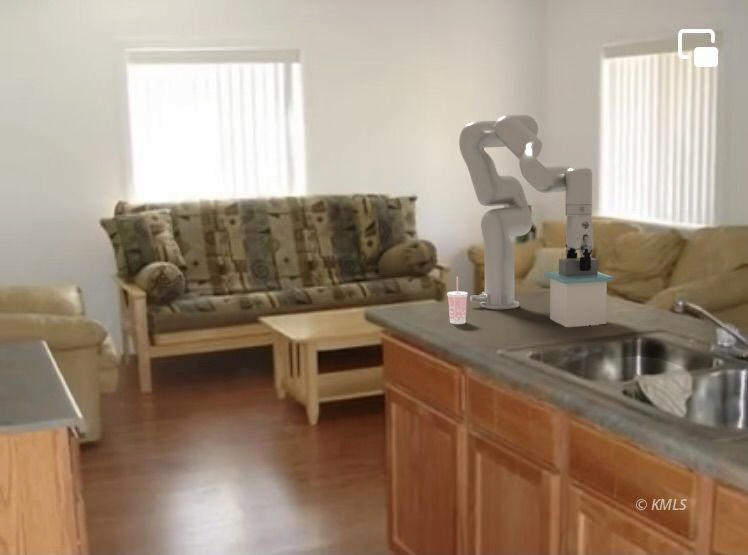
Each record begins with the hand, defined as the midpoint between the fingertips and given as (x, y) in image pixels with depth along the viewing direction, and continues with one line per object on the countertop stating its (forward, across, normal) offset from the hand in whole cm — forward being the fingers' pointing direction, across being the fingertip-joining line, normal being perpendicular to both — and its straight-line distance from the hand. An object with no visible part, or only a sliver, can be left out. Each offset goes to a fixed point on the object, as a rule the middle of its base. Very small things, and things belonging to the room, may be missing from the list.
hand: (578, 268), depth 294 cm
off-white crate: (+16, 0, 0) cm, 16 cm away
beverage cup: (+16, +10, +34) cm, 39 cm away
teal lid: (+4, 0, 0) cm, 4 cm away
